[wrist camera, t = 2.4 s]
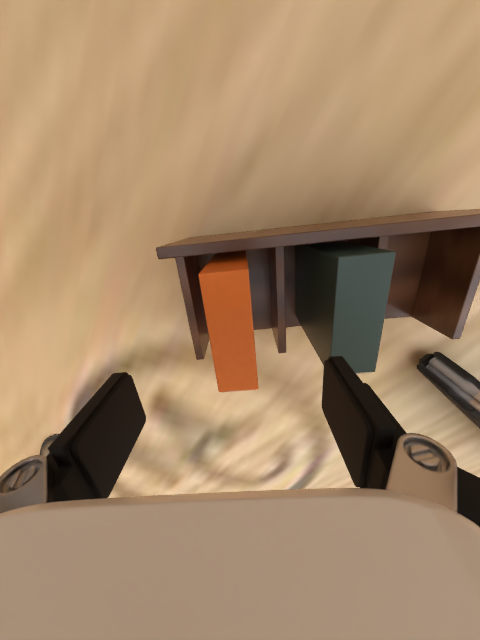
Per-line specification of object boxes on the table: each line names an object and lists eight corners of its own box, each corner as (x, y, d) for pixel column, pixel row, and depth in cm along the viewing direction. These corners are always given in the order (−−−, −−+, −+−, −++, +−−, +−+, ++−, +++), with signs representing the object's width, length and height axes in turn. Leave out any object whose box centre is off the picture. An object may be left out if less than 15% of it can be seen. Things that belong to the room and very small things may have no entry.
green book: (295, 241, 25) (338, 256, 14) (327, 237, 24) (396, 251, 14) (295, 317, 28) (328, 377, 17) (323, 314, 28) (374, 374, 17)
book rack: (189, 237, 25) (155, 247, 15) (437, 211, 24) (572, 204, 14) (206, 331, 30) (188, 384, 20) (413, 313, 29) (502, 361, 19)
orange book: (218, 249, 25) (197, 274, 13) (245, 246, 25) (248, 268, 13) (228, 323, 29) (219, 394, 17) (251, 321, 29) (258, 391, 17)
